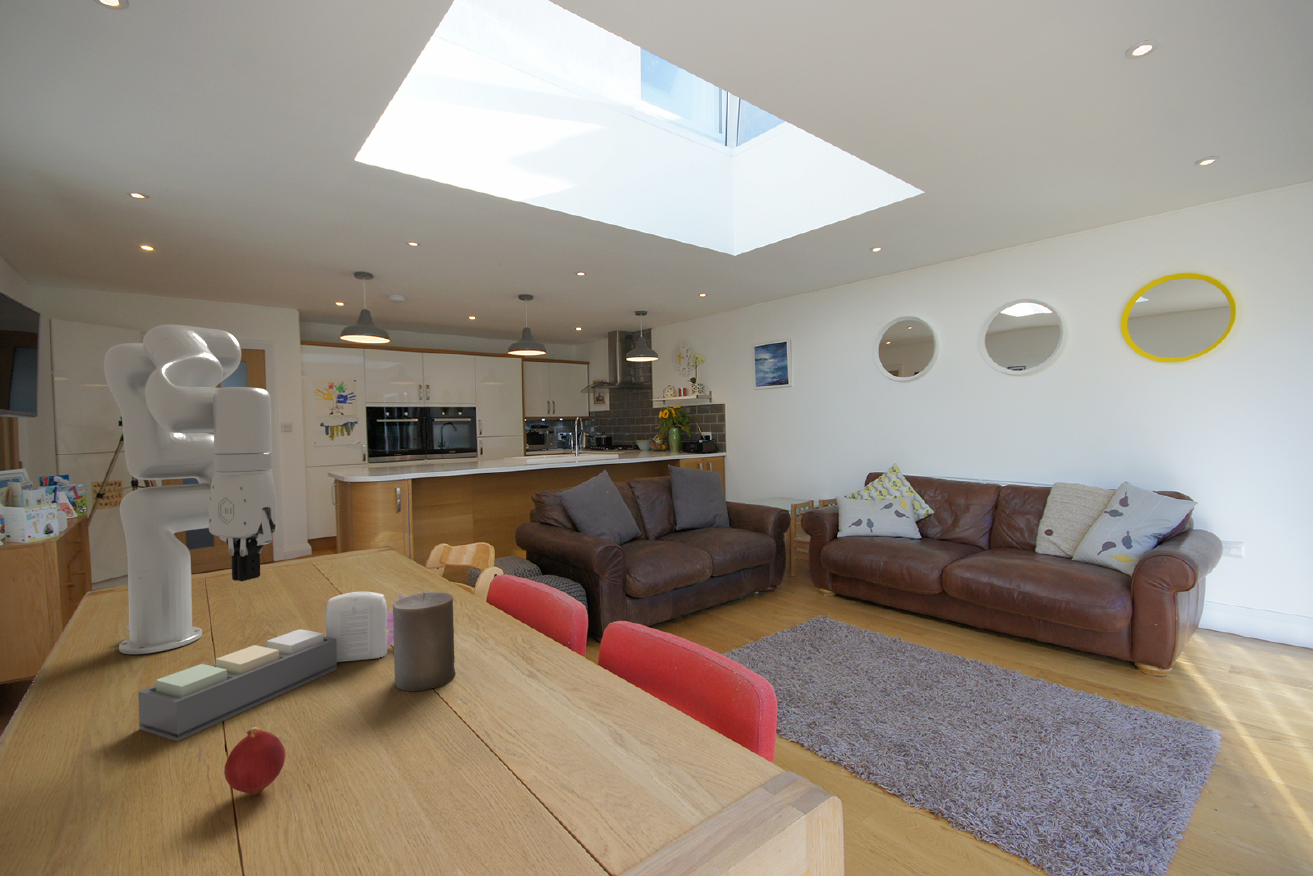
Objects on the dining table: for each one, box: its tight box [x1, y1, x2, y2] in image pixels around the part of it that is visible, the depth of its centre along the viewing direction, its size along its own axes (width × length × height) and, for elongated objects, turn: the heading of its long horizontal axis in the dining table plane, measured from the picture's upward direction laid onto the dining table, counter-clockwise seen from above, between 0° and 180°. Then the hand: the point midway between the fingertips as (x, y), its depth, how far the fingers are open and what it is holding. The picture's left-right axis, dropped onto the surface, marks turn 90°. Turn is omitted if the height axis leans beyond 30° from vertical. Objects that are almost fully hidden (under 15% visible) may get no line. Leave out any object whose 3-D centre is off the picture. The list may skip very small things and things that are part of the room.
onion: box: [223, 726, 286, 796], centre depth 67 cm, size 6×6×8 cm
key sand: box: [215, 644, 279, 675], centre depth 91 cm, size 6×6×4 cm
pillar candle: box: [392, 591, 456, 692], centre depth 97 cm, size 10×10×15 cm
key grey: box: [266, 628, 325, 655], centre depth 99 cm, size 6×6×4 cm
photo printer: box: [325, 591, 388, 663], centre depth 106 cm, size 10×4×12 cm, turn 106°
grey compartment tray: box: [137, 636, 338, 742], centre depth 91 cm, size 9×25×6 cm, turn 159°
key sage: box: [155, 663, 227, 698], centre depth 84 cm, size 6×6×4 cm
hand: (246, 578), depth 91 cm, fingers closed
